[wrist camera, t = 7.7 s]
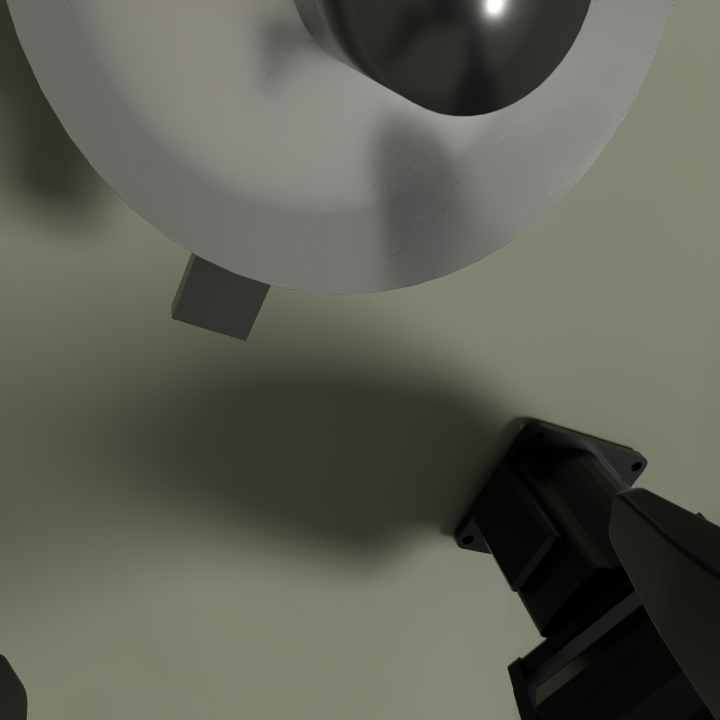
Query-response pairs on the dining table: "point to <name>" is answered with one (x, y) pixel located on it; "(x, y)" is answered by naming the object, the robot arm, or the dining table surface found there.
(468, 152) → the lid
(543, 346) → the dining table surface
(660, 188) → the dining table surface
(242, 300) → the pot
